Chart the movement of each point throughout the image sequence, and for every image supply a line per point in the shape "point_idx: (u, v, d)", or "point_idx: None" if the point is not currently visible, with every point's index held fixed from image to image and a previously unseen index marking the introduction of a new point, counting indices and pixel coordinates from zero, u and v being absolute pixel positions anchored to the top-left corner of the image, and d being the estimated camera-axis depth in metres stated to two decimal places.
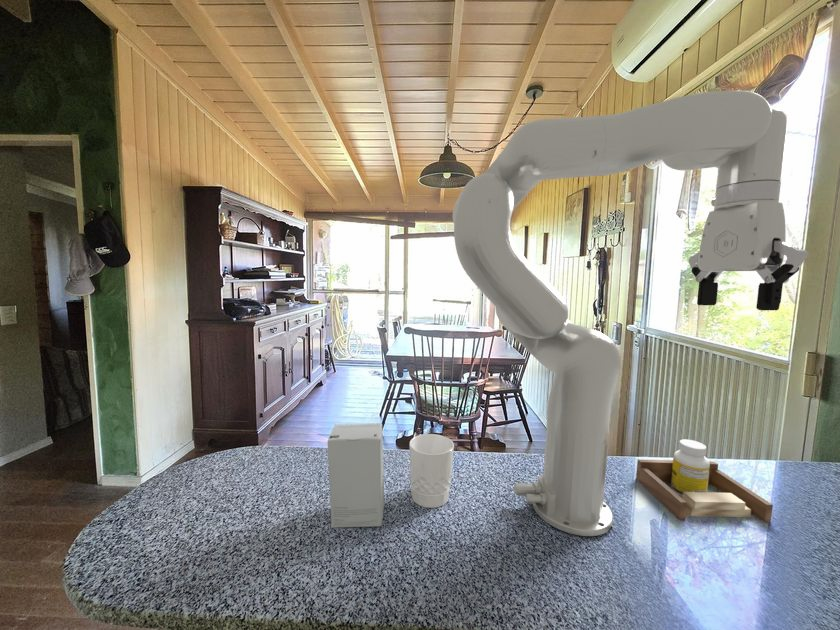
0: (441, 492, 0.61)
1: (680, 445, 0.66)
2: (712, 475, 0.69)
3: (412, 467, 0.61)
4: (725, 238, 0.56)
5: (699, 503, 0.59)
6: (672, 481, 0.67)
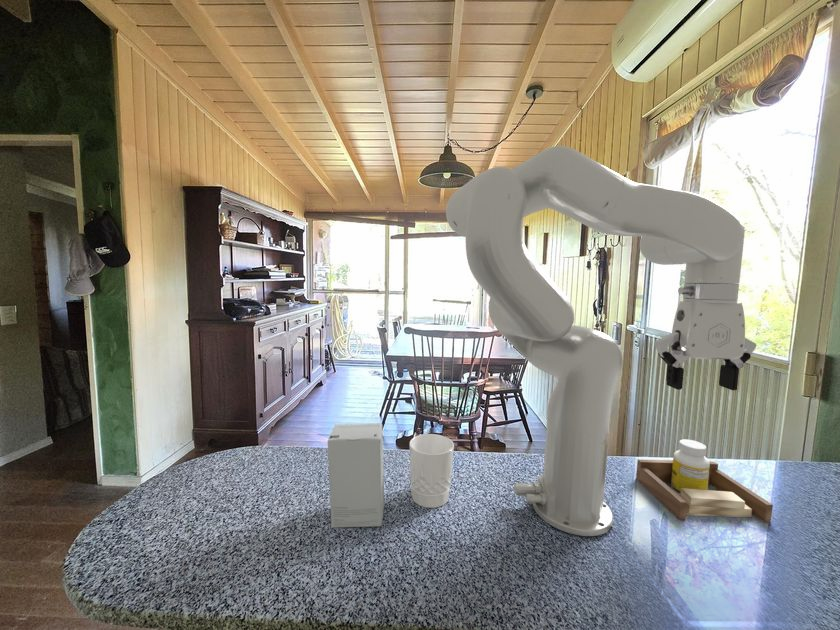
0: (441, 492, 0.61)
1: (680, 445, 0.66)
2: (712, 475, 0.69)
3: (412, 467, 0.61)
4: (718, 330, 0.61)
5: (695, 499, 0.60)
6: (672, 481, 0.67)
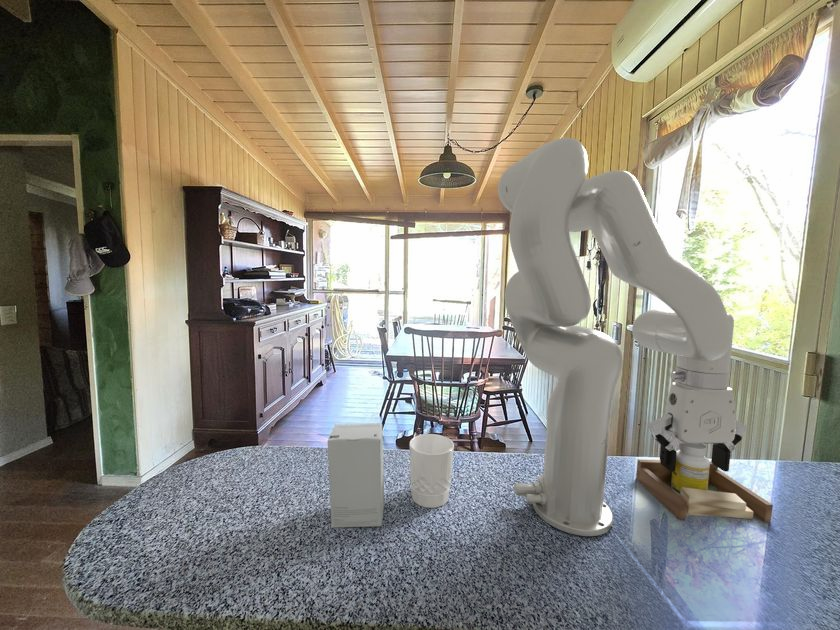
0: (441, 492, 0.61)
1: (680, 445, 0.66)
2: (712, 475, 0.69)
3: (412, 467, 0.61)
4: (709, 416, 0.63)
5: (694, 498, 0.61)
6: (672, 481, 0.67)
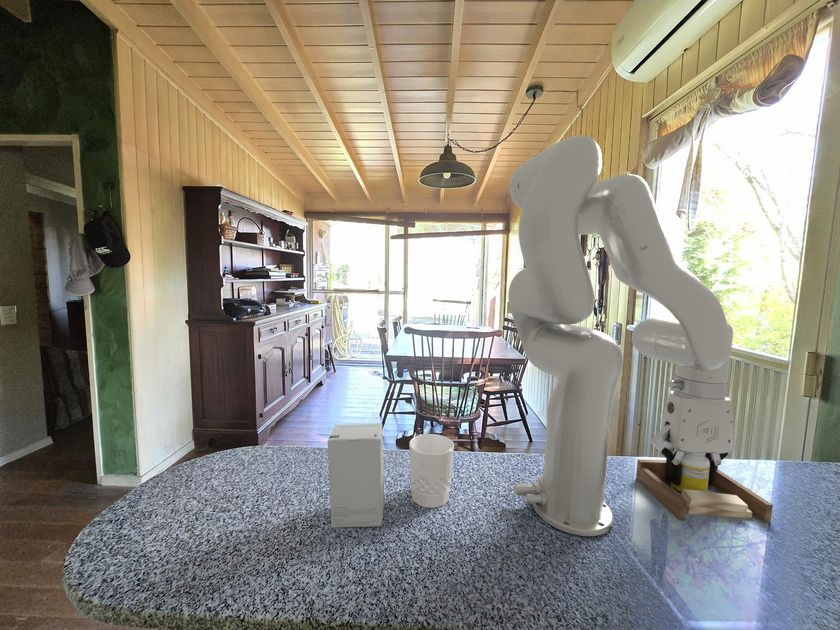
0: (441, 492, 0.61)
1: None
2: None
3: (412, 467, 0.61)
4: (706, 426, 0.63)
5: (695, 500, 0.61)
6: None
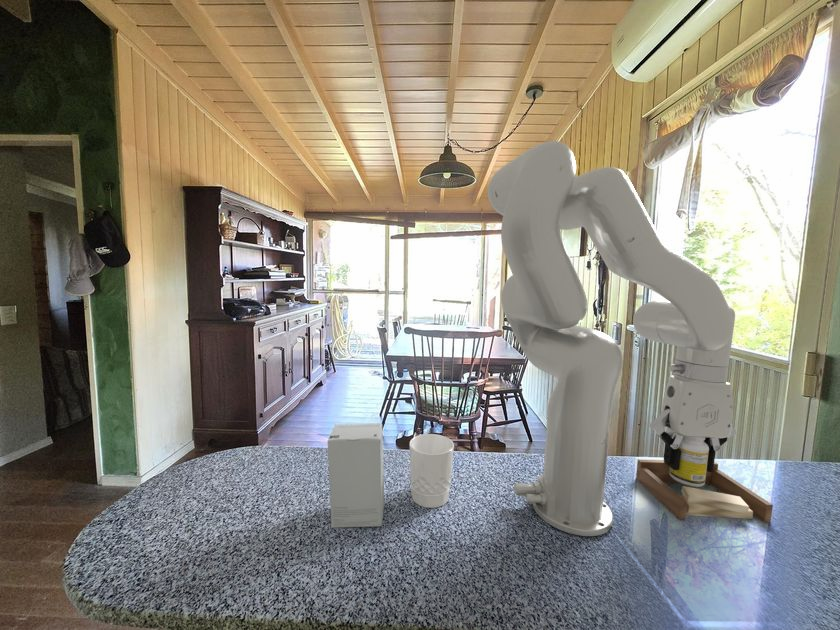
0: (441, 492, 0.61)
1: None
2: (712, 475, 0.69)
3: (412, 467, 0.61)
4: (706, 410, 0.62)
5: (693, 497, 0.61)
6: None
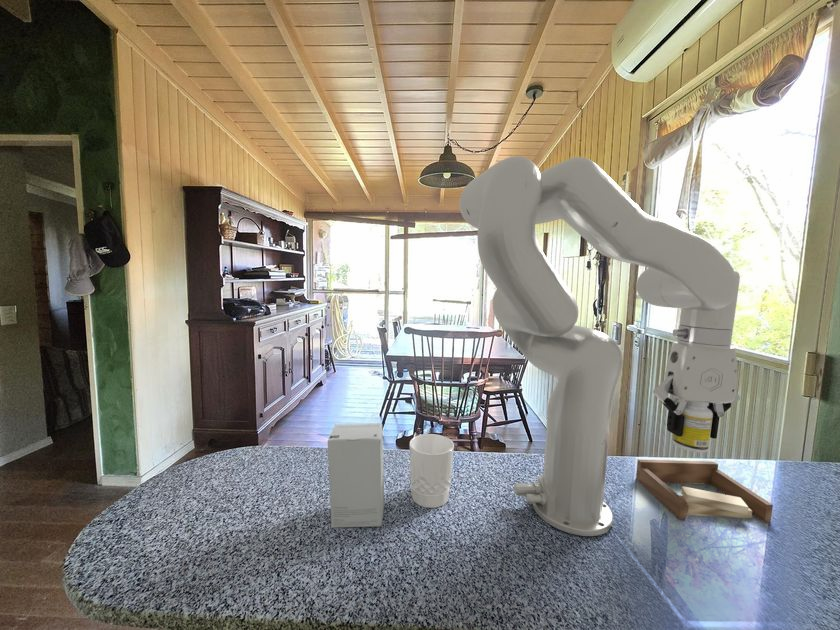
0: (441, 492, 0.61)
1: None
2: (712, 475, 0.69)
3: (412, 467, 0.61)
4: (710, 374, 0.62)
5: (691, 497, 0.61)
6: None
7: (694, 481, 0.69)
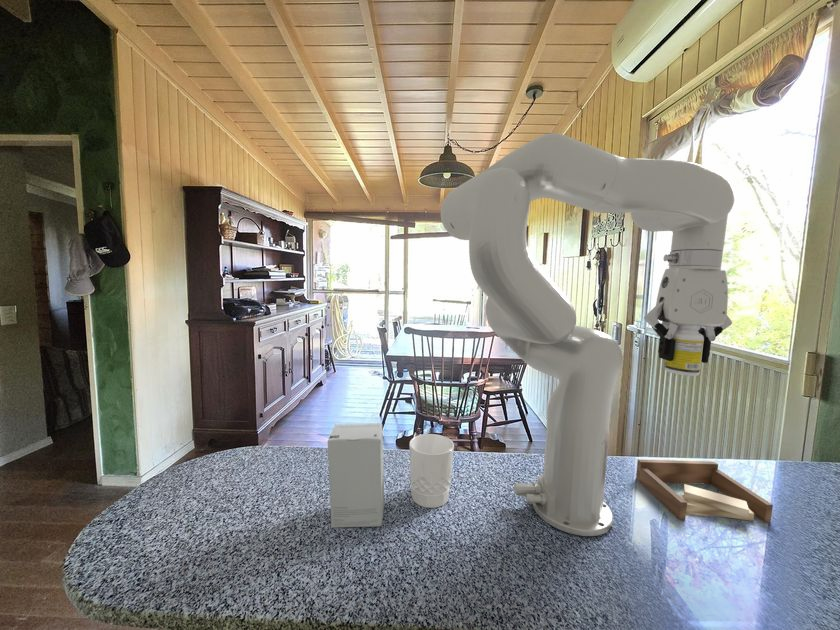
0: (441, 492, 0.61)
1: None
2: (712, 475, 0.69)
3: (412, 467, 0.61)
4: (700, 296, 0.62)
5: (689, 494, 0.62)
6: (665, 361, 0.67)
7: (694, 481, 0.69)
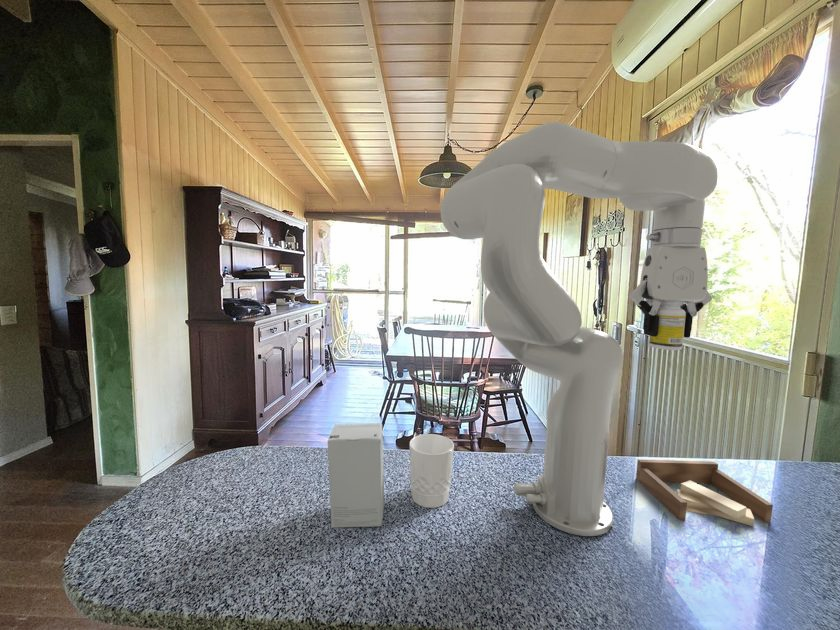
0: (441, 492, 0.61)
1: None
2: (712, 475, 0.69)
3: (412, 467, 0.61)
4: (681, 273, 0.65)
5: (685, 487, 0.64)
6: (650, 337, 0.69)
7: (694, 481, 0.69)
